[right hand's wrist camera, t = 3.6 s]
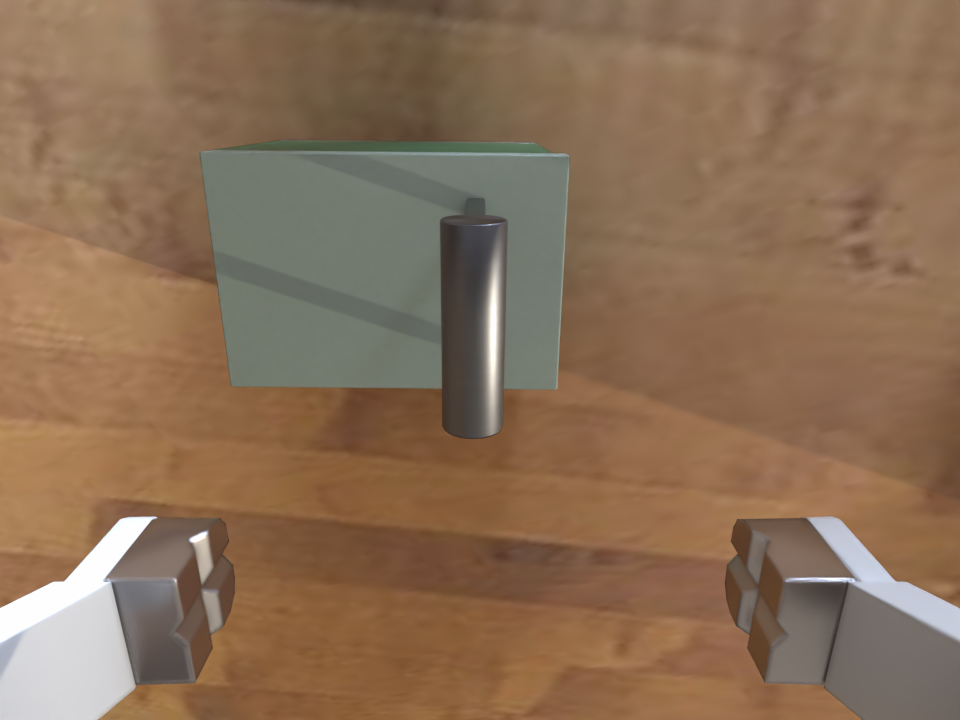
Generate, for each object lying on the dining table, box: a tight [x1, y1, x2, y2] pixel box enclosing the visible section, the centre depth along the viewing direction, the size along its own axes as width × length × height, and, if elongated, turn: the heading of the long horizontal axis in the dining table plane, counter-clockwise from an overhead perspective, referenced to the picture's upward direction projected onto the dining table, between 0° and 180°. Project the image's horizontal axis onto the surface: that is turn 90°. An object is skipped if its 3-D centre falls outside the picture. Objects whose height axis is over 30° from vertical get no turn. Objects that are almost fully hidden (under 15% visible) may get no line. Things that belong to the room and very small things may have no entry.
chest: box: [216, 140, 551, 153], centre depth 32 cm, size 13×10×10 cm
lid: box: [200, 150, 570, 439], centre depth 23 cm, size 14×9×8 cm
